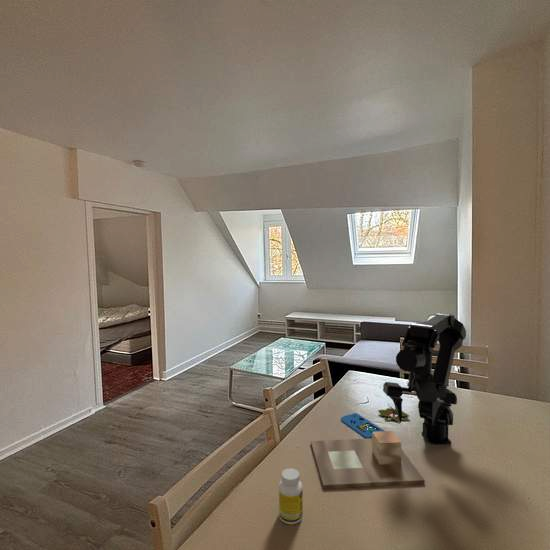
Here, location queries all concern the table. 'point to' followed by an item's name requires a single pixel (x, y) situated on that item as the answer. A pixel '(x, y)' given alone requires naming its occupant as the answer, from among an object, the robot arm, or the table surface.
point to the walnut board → (359, 465)
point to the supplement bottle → (290, 497)
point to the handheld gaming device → (360, 425)
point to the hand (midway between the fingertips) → (416, 423)
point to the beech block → (386, 447)
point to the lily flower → (392, 411)
